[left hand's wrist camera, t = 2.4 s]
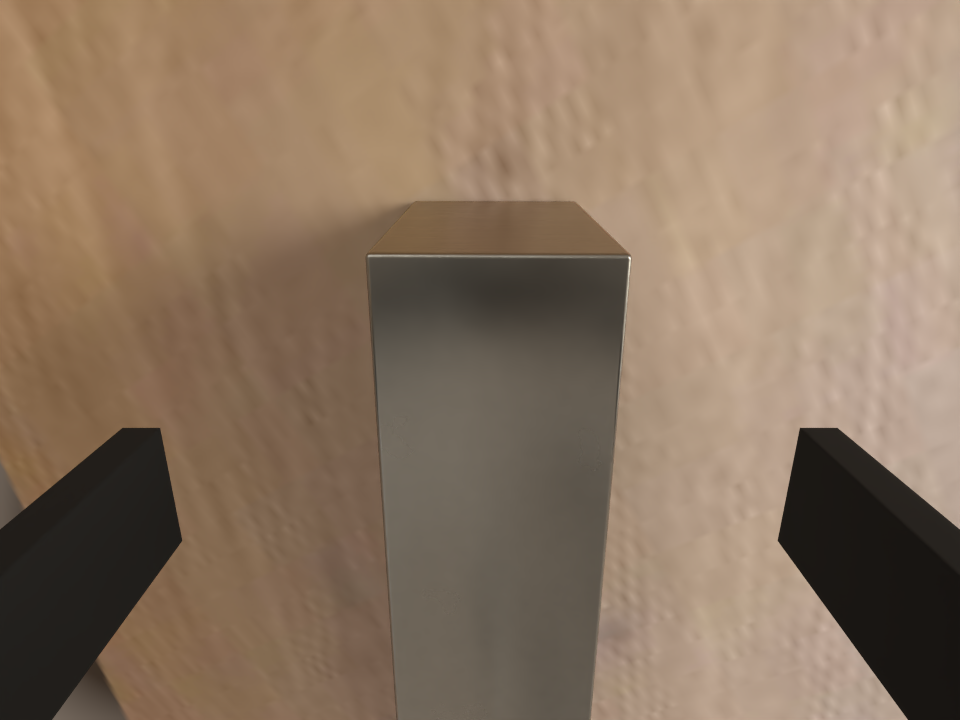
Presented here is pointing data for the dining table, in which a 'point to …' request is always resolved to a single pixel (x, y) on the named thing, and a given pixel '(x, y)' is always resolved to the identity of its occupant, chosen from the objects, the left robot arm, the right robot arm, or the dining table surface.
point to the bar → (496, 451)
